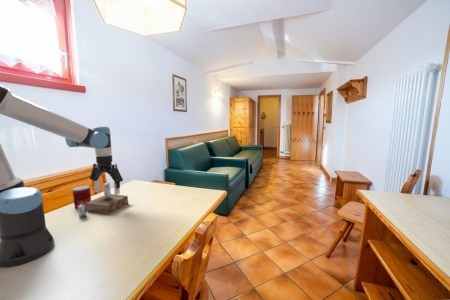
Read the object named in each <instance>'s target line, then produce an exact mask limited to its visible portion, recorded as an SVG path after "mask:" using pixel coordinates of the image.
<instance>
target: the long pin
mask: <svg viewBox="0 0 450 300" xmlns="http://www.w3.org/2000/svg"><path fill="white" fill-rule="evenodd" d="M102 185H103V193H104V195H103V196H105V201H109V200H111V194H112V192H111V183H110V182H105V183H103V184H102Z"/></svg>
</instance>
